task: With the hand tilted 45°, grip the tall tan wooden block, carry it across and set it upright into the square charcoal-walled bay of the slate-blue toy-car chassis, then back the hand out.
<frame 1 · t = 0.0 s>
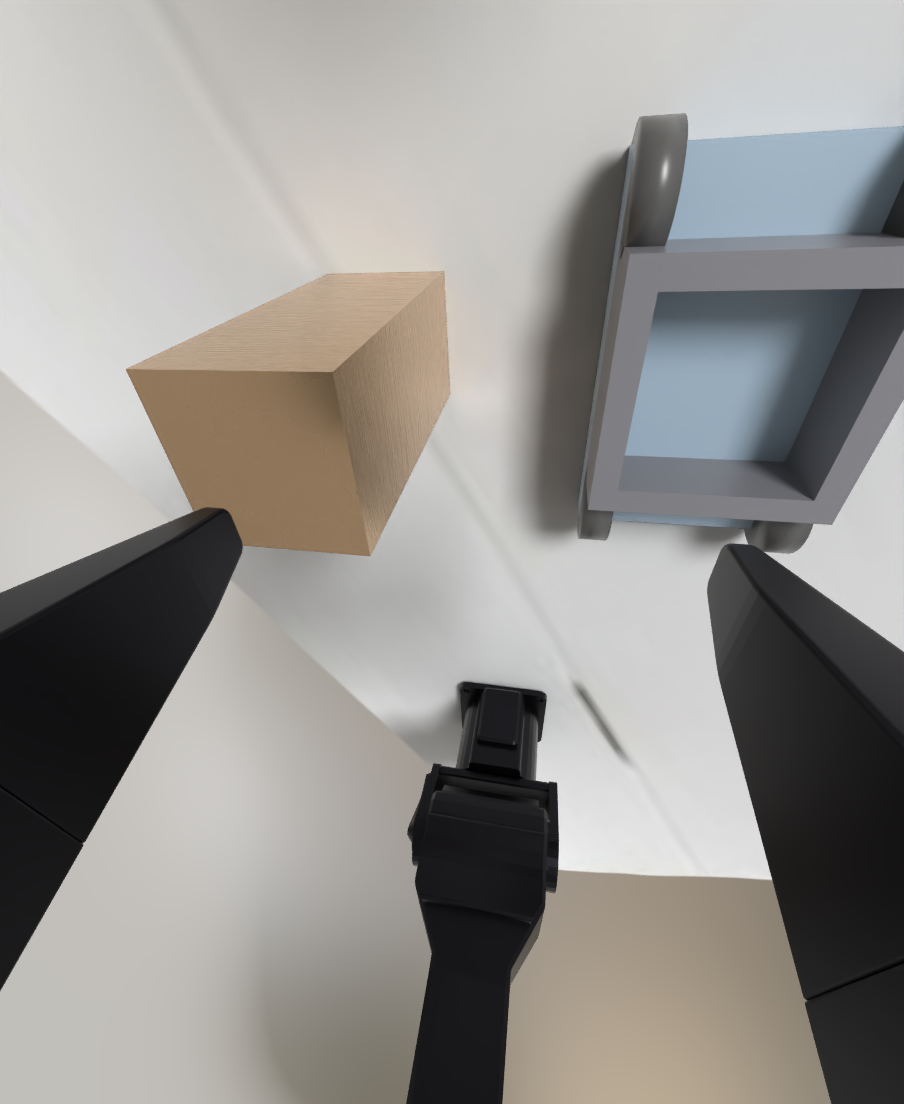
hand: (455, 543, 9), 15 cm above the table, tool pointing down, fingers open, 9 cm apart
chassis: (712, 363, 19), on the table
tall tan wooden block: (392, 337, 21), on the table
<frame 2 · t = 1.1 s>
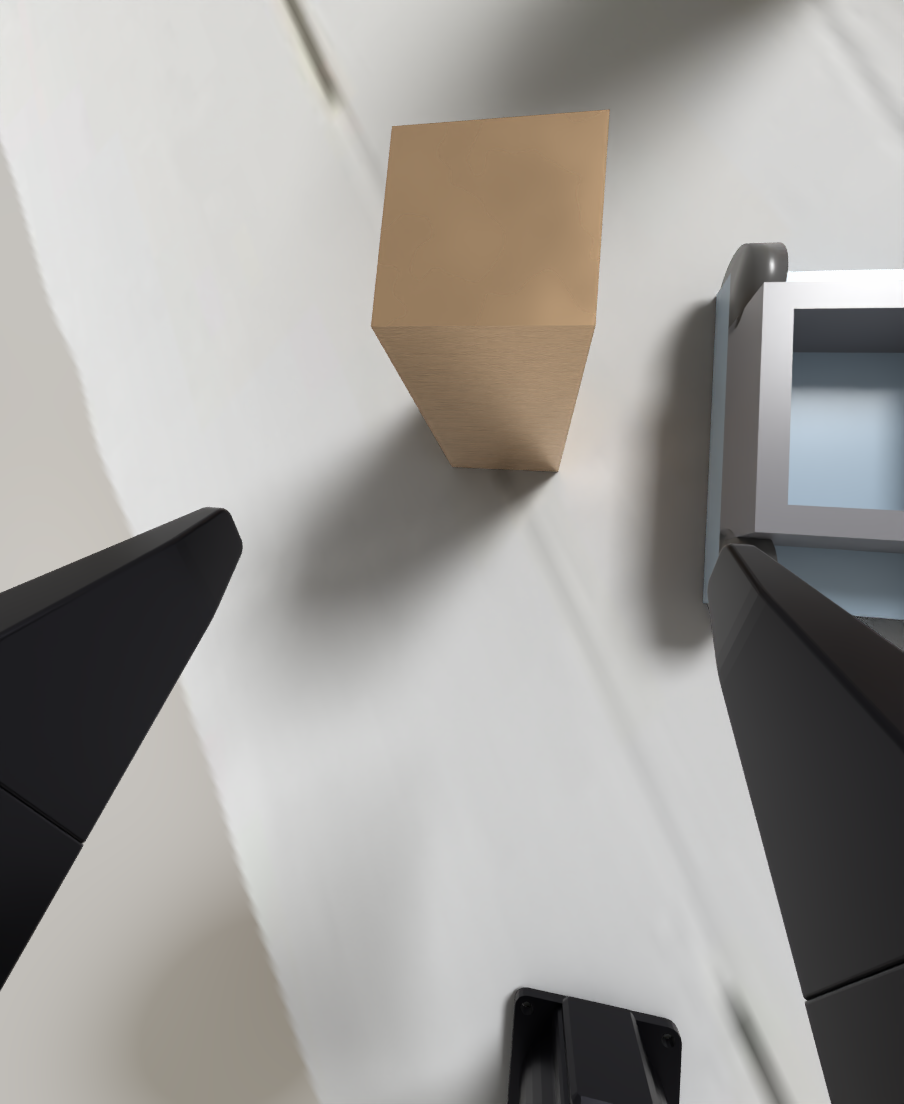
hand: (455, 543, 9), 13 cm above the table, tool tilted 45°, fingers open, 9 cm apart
chassis: (822, 448, 20), on the table
tall tan wooden block: (508, 418, 22), on the table
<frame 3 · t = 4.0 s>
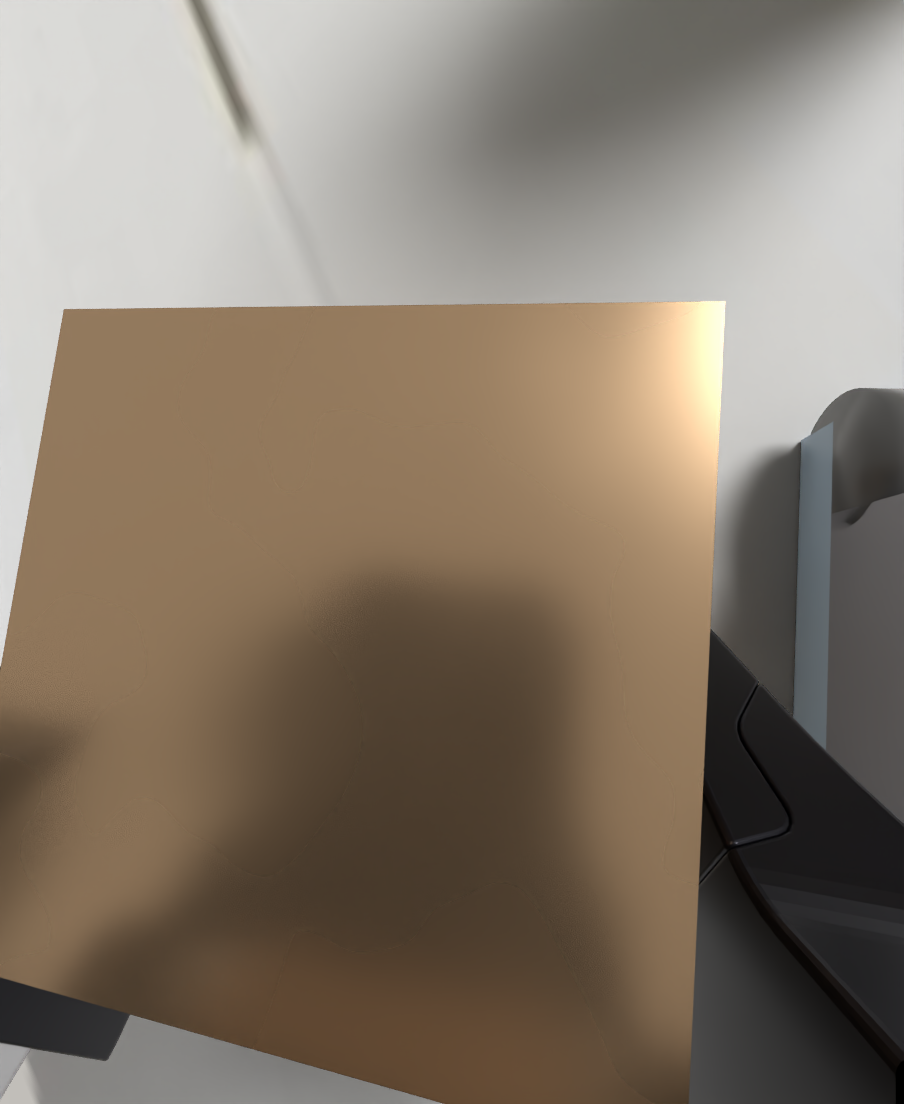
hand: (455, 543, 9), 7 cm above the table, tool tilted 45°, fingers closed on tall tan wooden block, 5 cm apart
tall tan wooden block: (483, 612, 15), on the table, touching gripper
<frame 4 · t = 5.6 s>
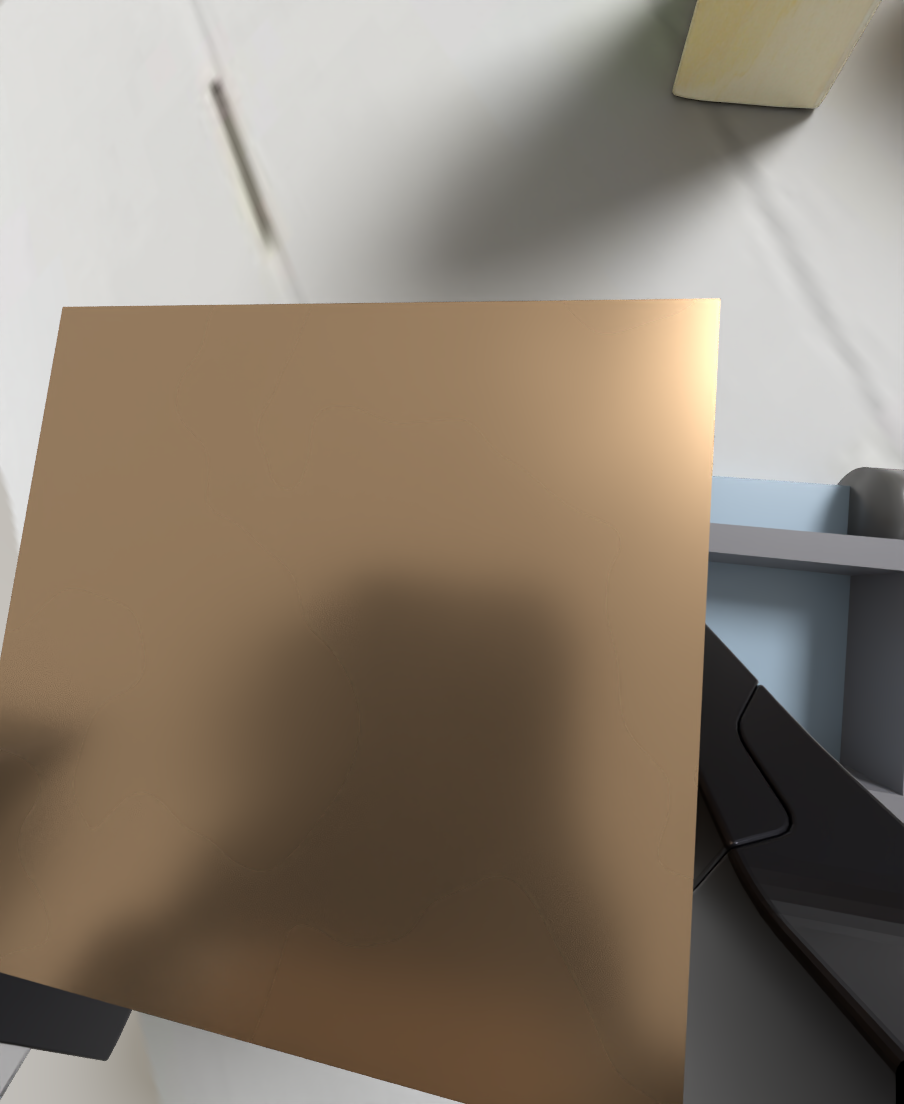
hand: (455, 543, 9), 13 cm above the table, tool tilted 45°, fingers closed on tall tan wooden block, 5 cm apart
chassis: (728, 649, 20), on the table
toy refrigerator: (750, 34, 22), on the table
tall tan wooden block: (482, 611, 15), point 7 cm above the table, touching gripper
when the fingers open (9 cm above the table, at t = 7.6 s): tall tan wooden block drops 1 cm, resting on chassis.
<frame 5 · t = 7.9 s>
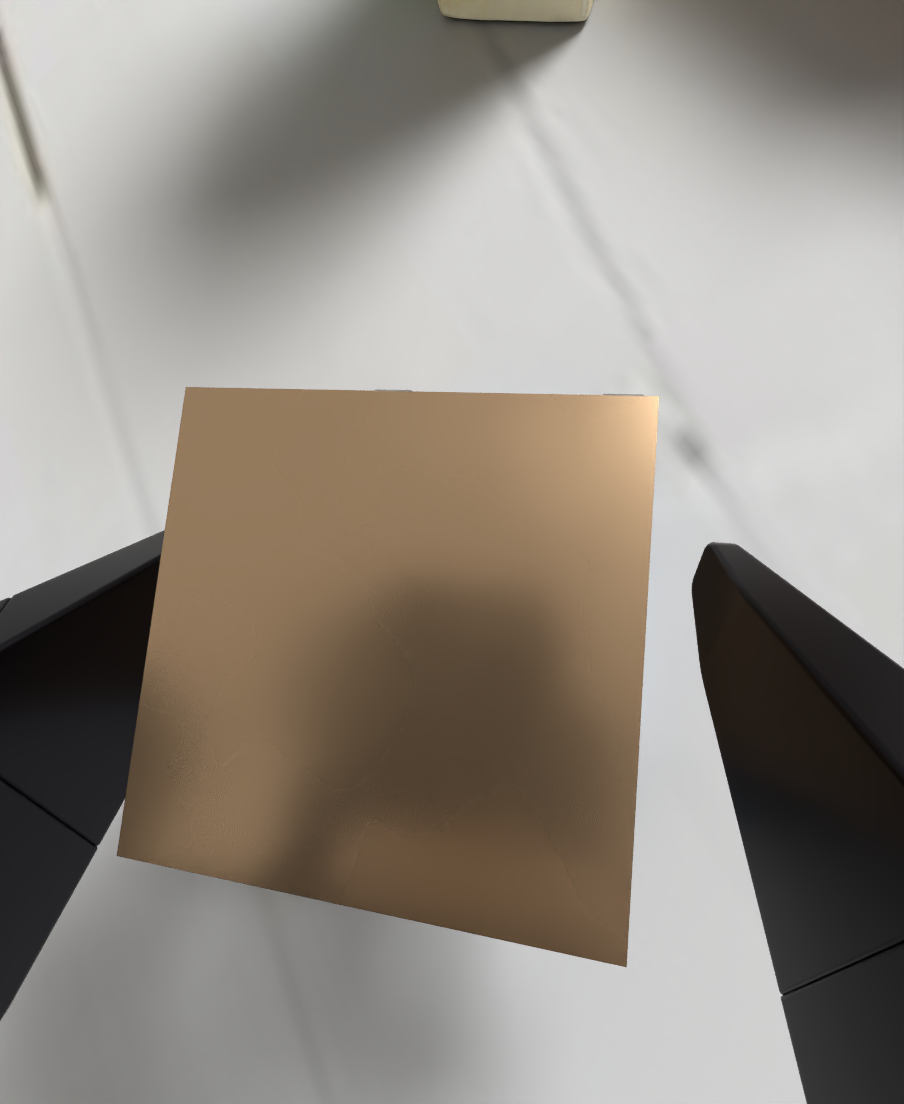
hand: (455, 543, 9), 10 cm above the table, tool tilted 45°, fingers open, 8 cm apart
tall tan wooden block: (486, 610, 16), point 1 cm above the table, touching chassis
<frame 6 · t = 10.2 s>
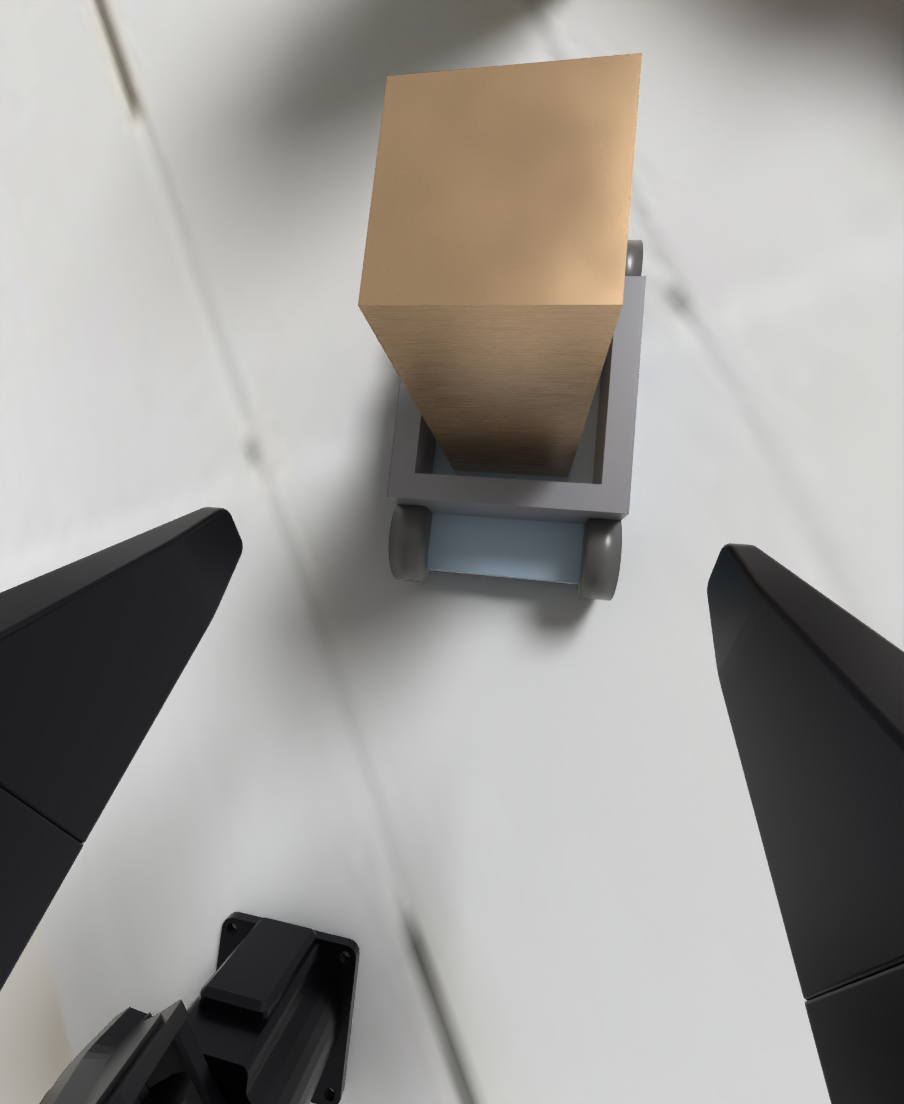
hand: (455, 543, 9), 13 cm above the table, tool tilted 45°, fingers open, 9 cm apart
chassis: (516, 430, 22), on the table
tall tan wooden block: (515, 418, 21), point 1 cm above the table, touching chassis
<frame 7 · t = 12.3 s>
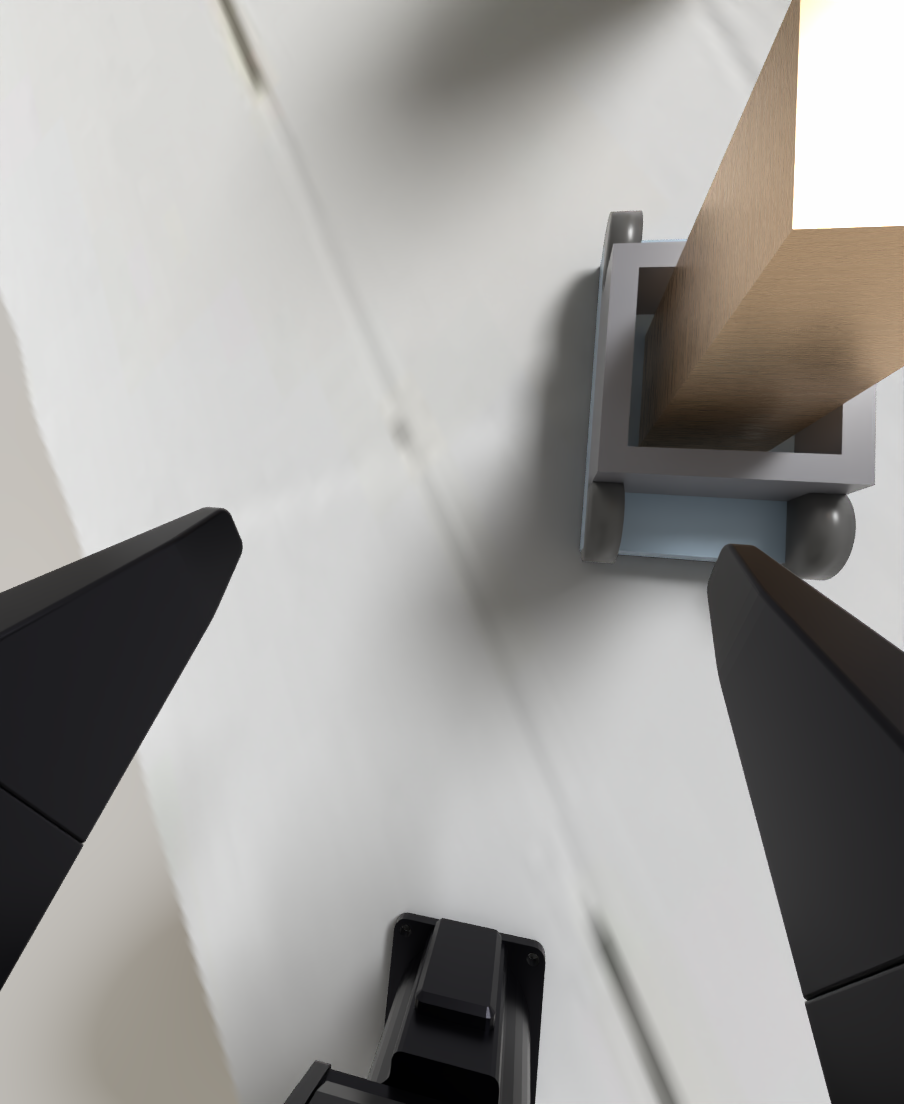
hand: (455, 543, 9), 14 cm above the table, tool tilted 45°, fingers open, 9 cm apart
chassis: (692, 406, 21), on the table
tall tan wooden block: (703, 392, 20), point 1 cm above the table, touching chassis
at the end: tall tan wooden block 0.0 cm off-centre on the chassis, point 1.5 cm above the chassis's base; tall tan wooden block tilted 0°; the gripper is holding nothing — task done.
